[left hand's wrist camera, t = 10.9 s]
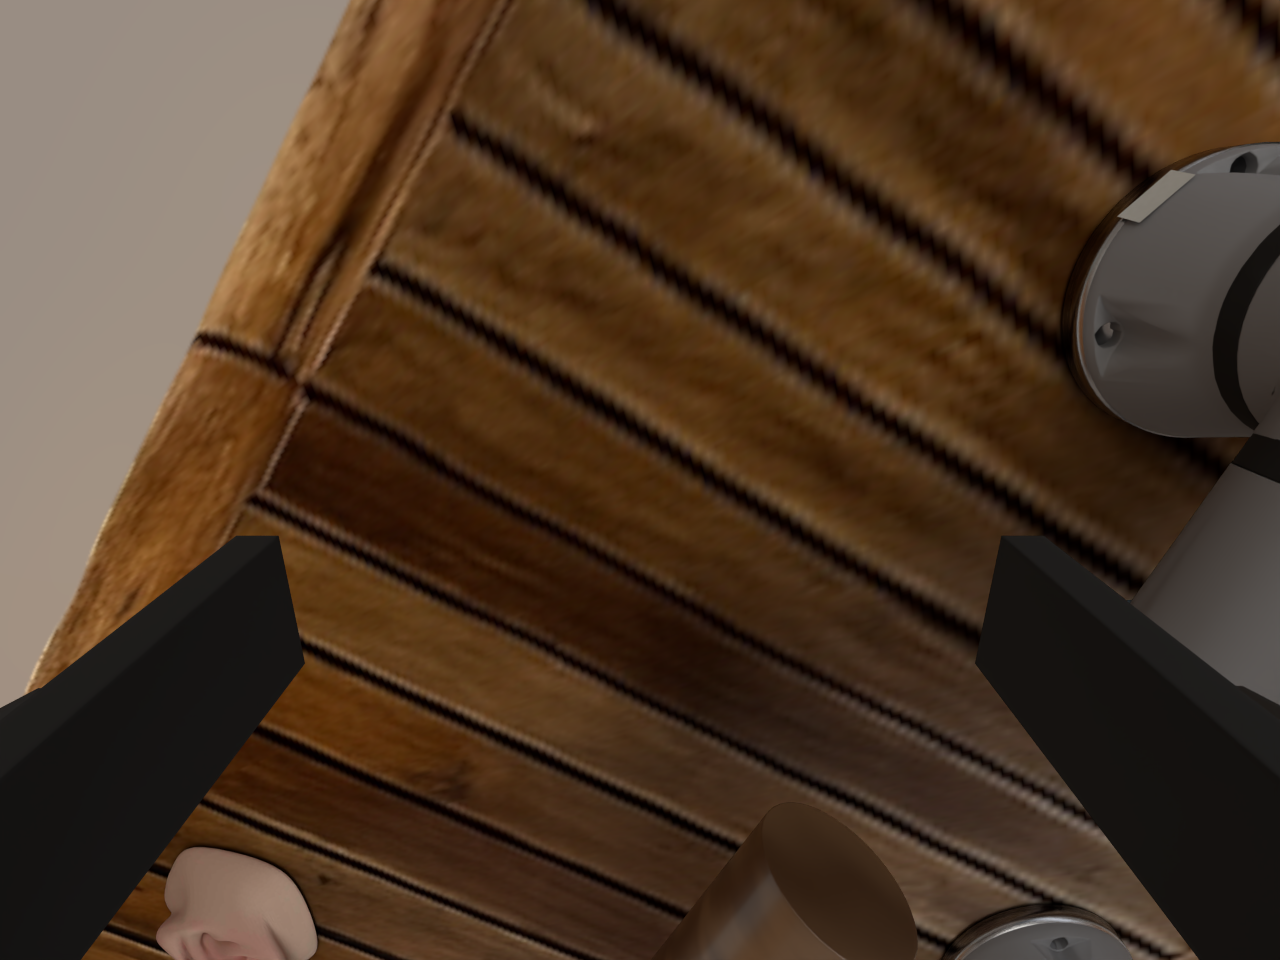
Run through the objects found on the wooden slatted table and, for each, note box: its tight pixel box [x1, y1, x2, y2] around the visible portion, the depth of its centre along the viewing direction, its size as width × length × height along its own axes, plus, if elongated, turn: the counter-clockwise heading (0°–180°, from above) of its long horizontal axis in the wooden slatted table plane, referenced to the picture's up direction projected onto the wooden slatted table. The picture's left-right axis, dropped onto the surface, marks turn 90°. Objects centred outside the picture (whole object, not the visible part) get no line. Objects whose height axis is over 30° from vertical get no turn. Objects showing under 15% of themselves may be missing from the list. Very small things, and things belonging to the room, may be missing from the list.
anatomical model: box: [156, 847, 317, 960], centre depth 53 cm, size 13×4×12 cm
